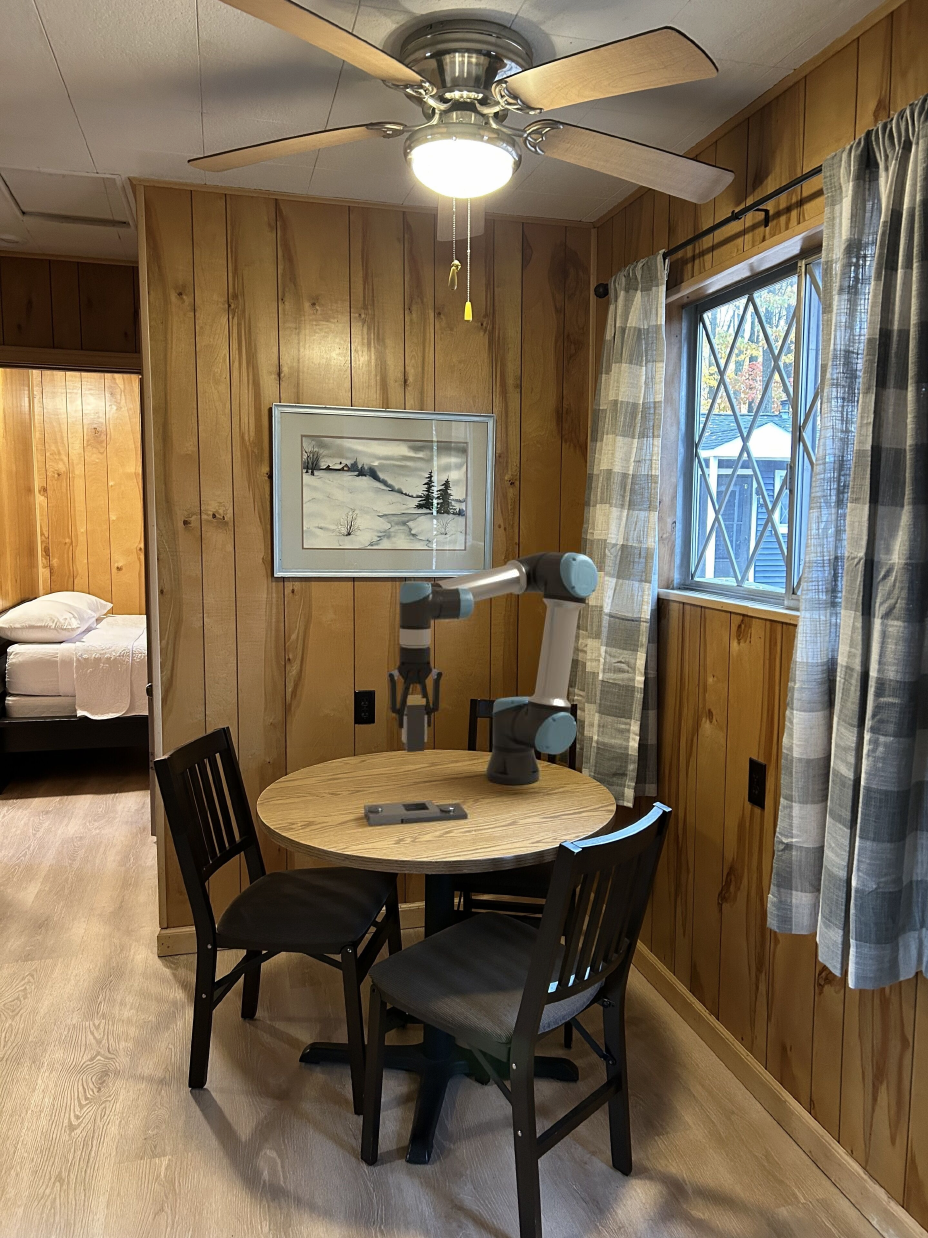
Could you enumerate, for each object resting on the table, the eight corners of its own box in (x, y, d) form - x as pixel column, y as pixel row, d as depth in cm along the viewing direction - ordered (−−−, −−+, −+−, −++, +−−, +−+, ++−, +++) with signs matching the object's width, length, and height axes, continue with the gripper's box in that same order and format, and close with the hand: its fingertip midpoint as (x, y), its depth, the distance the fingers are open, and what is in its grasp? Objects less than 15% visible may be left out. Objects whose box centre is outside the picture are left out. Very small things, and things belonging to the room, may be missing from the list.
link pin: (421, 746, 225) (422, 694, 223) (425, 751, 220) (425, 698, 219) (403, 747, 223) (403, 695, 222) (406, 752, 219) (406, 699, 218)
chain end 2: (458, 807, 230) (458, 800, 230) (467, 818, 222) (467, 811, 222) (396, 812, 226) (396, 805, 226) (403, 823, 218) (403, 816, 218)
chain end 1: (431, 809, 229) (431, 798, 228) (439, 820, 220) (439, 808, 220) (364, 814, 224) (364, 802, 224) (369, 826, 216) (369, 814, 215)
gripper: (446, 643, 225) (445, 735, 227) (377, 644, 221) (376, 739, 223) (453, 647, 218) (452, 742, 220) (381, 648, 214) (381, 746, 216)
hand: (414, 740), depth 222 cm, fingers closed on link pin, 4 cm apart
